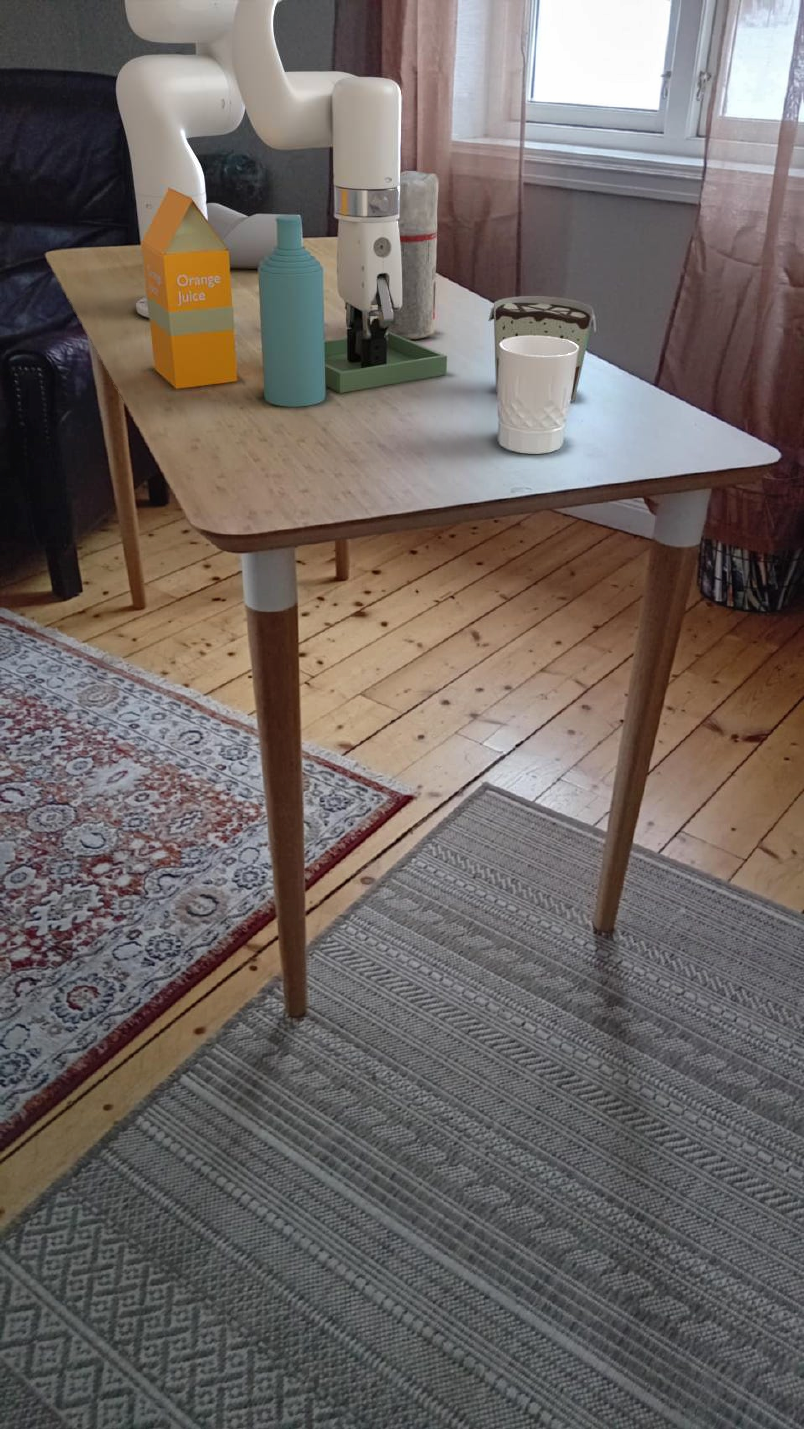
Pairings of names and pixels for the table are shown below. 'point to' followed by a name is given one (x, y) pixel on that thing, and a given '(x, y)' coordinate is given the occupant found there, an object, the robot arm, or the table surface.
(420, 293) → the spray can
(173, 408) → the table surface
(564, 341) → the white cup
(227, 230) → the bent grey cylinder
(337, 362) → the tray
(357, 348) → the cap
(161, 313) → the orange juice
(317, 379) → the bottle
